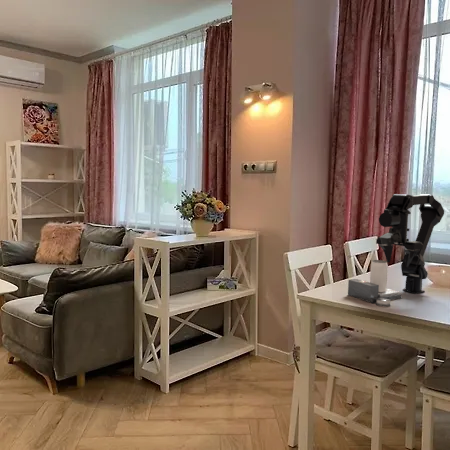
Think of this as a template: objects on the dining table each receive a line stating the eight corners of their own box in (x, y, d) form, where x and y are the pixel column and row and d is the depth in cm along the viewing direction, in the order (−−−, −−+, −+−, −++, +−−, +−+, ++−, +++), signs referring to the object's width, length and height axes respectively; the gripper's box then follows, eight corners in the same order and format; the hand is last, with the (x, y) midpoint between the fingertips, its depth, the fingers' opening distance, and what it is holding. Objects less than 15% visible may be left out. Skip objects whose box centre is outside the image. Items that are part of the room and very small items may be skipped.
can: (366, 289, 189) (367, 260, 188) (379, 288, 191) (380, 259, 190) (376, 293, 183) (378, 263, 182) (390, 292, 185) (391, 262, 184)
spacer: (382, 302, 179) (383, 297, 179) (393, 306, 175) (393, 300, 174) (373, 304, 177) (373, 299, 176) (383, 307, 172) (383, 302, 172)
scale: (376, 290, 197) (377, 274, 196) (401, 298, 185) (402, 281, 185) (346, 295, 189) (347, 278, 188) (371, 303, 177) (372, 285, 177)
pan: (378, 287, 196) (378, 286, 196) (399, 293, 186) (399, 291, 186) (358, 290, 190) (359, 288, 190) (379, 296, 181) (379, 294, 181)
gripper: (367, 224, 190) (365, 261, 192) (404, 229, 174) (402, 270, 176) (386, 223, 196) (384, 259, 197) (424, 227, 179) (422, 267, 181)
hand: (397, 264), depth 188 cm, fingers open, 9 cm apart
